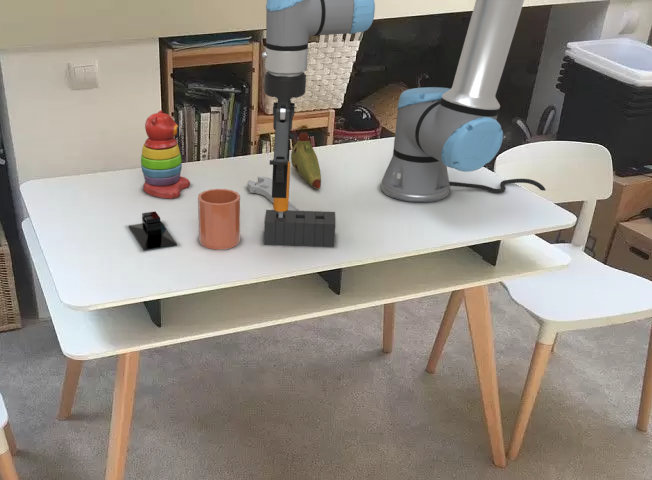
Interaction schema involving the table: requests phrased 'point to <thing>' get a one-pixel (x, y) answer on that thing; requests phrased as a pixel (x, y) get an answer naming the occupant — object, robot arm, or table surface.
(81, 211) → the table surface
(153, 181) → the stacking bear
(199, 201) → the pen cup
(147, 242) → the build plate
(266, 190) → the adjustable wrench
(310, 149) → the olive green tapered piece
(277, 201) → the orange round dowel
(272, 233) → the holder
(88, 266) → the table surface
